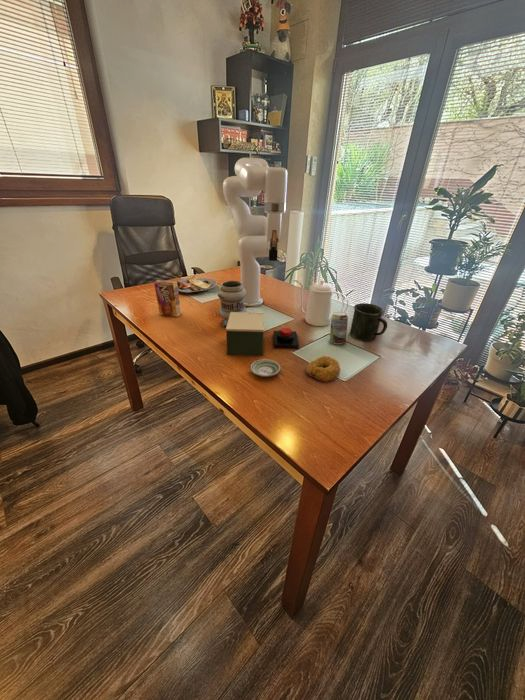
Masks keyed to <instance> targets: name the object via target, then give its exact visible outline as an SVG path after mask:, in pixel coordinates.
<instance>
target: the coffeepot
mask: <svg viewBox="0 0 525 700" xmlns="http://www.w3.org/2000/svg"><path fill="white" fill-rule="evenodd" d="M293 282H296V283H298V284H299V285H300V310H301V312H302V313H303V315H304V320H305V322H306V323H307V324H308V325H310V326H313V327H324V326H327V325H329V324H330V323H331V310H332V309H331V308H332V296H333V294H336V295H338V296H339V298H340V299H341V301H342V308H341V311H340V312H343V311H344V312H346V311H347V310H348V307H349V299H348V297H347V296H346V295H345V294H344V293H342V292H340V291H334V290H333V287H332V285H331V284H329V283H328V282H326V280H325V279H320V280H319V281H318V282H317V281H316V282H313V283H312V284H311V286H310V287H309V294H308V298H307V299H308V300H307V305H306V310H304V301H303V300H304V284H303V283H302V281H300V280H298V279H294V280H293ZM343 297H344V298H343ZM344 299H345V300H344ZM345 301H346V308H345V310H344V307H345Z"/></svg>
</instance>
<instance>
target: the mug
mask: <svg viewBox="0 0 525 700" xmlns="http://www.w3.org/2000/svg"><path fill="white" fill-rule="evenodd" d="M353 309H354V311H353V316H352V320H351V326H350V330H349V332H350V336H351V337H352V338H354V339H355V340H358V341H362V342H372V341H375V339H376V338H377V336H382V335H383V334H385V332H386V331H387V329H388V322H387V321H386V319H384V318H382V316H383V314H384V312H385V310H384V308H382V307H381V306H379V305H377V304H373V303H366V302H363V303H361V302H360V303H356V304H355V305H354V306H353ZM381 323H382V325H383V327H382V329H381V331H380V332H379V328H380V324H381Z"/></svg>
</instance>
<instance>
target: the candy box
mask: <svg viewBox="0 0 525 700" xmlns="http://www.w3.org/2000/svg"><path fill="white" fill-rule="evenodd" d="M177 281H178V280H163V279H157V280H155V281H154V282H153V284H154V289H155V295H156V301H157V307H158V313H159V316H165V317H176V318H178V317H179V316H180V315H182V310H181V303H180V302H181V301H180V295H179V291H178V286H177Z"/></svg>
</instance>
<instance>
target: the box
mask: <svg viewBox="0 0 525 700" xmlns="http://www.w3.org/2000/svg"><path fill="white" fill-rule="evenodd" d="M263 324H265V323H264V322H263ZM225 333H226V351H227V354H226V355H228V356H229V355H230V356H263V355H264V331H263V332H246V331H226V330H225Z"/></svg>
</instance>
